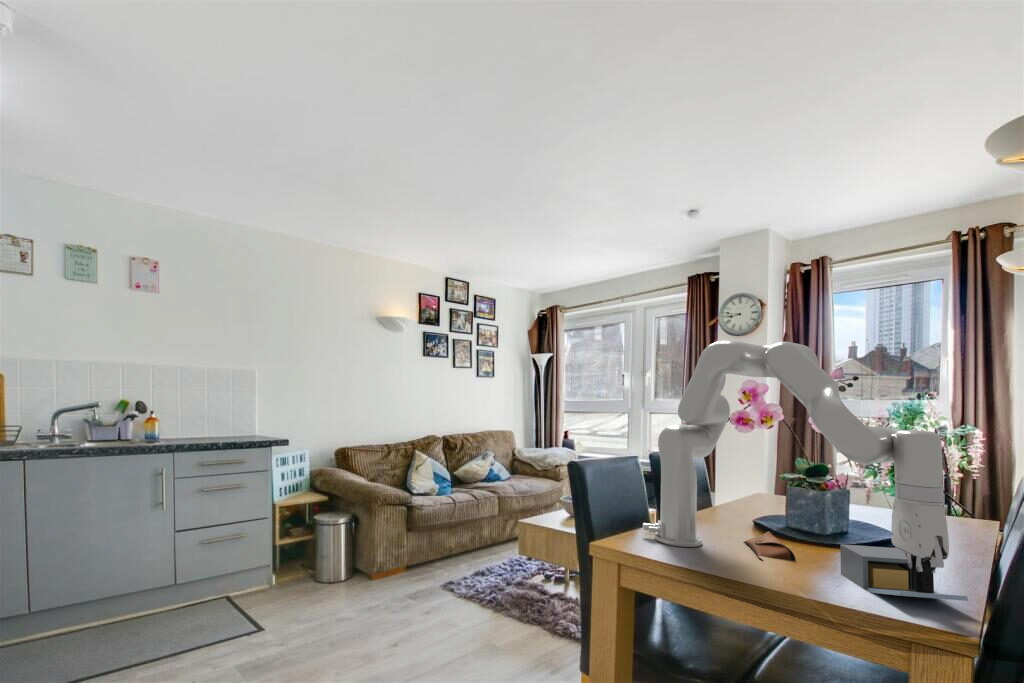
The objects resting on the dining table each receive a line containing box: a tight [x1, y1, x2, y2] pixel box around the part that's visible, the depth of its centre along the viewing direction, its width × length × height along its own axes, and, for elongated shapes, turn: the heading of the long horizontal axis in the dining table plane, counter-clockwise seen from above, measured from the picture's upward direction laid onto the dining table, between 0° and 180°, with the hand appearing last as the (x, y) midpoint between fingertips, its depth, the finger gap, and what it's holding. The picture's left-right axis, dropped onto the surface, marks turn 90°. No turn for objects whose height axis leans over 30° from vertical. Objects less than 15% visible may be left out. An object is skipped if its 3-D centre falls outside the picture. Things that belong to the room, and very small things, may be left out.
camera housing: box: [839, 543, 912, 591], centre depth 115 cm, size 15×9×7 cm, turn 84°
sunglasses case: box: [743, 531, 796, 562], centre depth 138 cm, size 18×7×7 cm
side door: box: [867, 587, 969, 602], centre depth 104 cm, size 12×1×11 cm
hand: (922, 591), depth 101 cm, fingers closed
